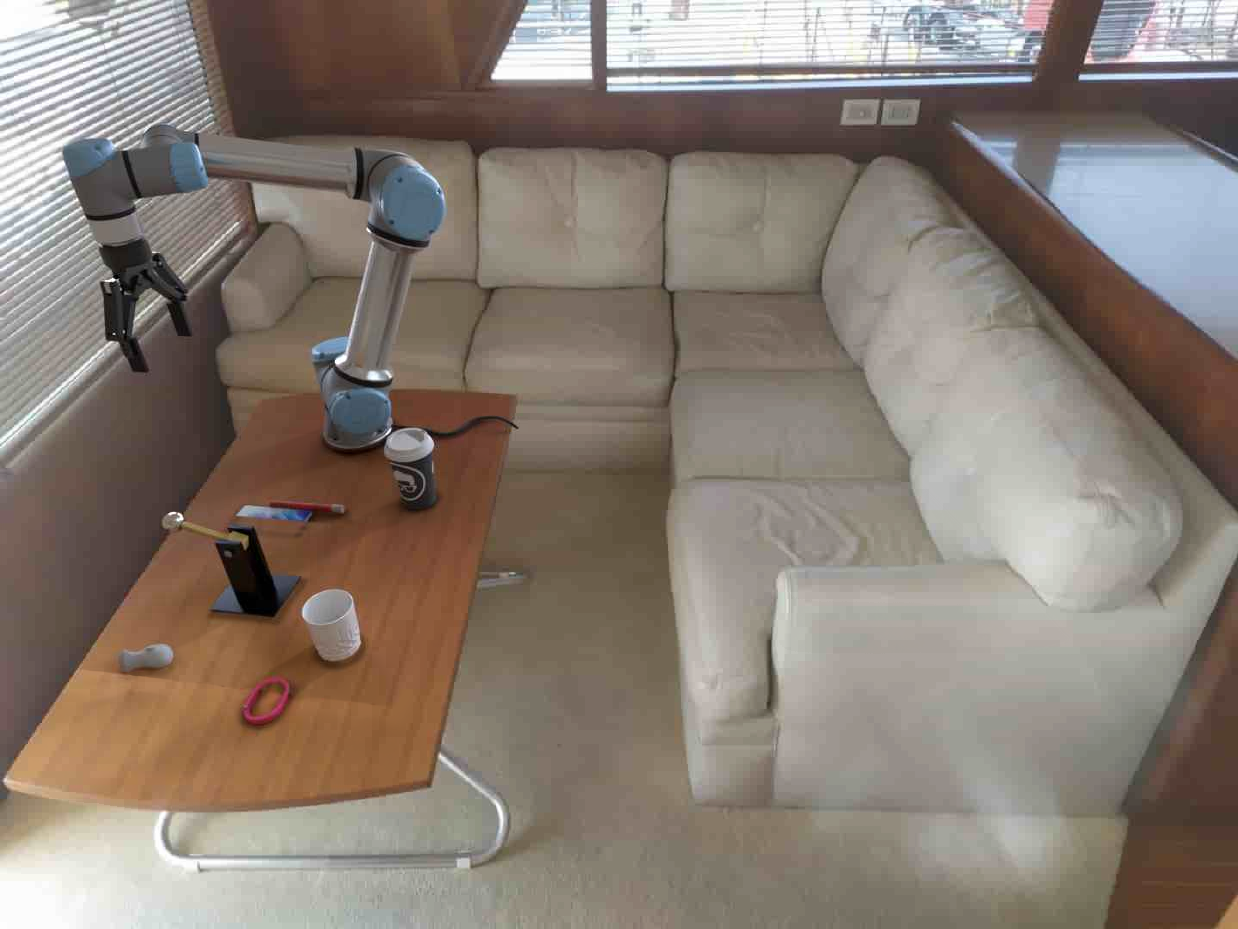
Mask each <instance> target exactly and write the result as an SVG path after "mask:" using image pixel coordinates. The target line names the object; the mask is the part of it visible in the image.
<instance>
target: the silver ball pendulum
mask: <svg viewBox="0 0 1238 929" xmlns="http://www.w3.org/2000/svg"><path fill="white" fill-rule="evenodd" d="M161 525H162V528H163V530H165V531H166V532H167V533H170V534H178V533H180V532H182V531H186V532H188V533H191V534H195V535H198V536H201V537H204V538H208V539H211V540H213V541H216V540H217V539H221V540H232V541H242V544H243V546H244V549H245V550H246V548H247V547H248V546H249V536H247V535H244V534H241V533H238V532H234V531H232V533H231V534H230V533H229V534H226V533H223V532H220V531H217V530H214V529H210V528H207V527H204V526H201V525H198V524H194V523H192V522H189V521H187V519H186V517H185V515H184V514H182V513H181V512H179V511H170V512H168V513H166V514H165V515H164V516H163V518H162V520H161Z"/></svg>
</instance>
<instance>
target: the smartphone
mask: <svg viewBox="0 0 1238 929" xmlns="http://www.w3.org/2000/svg"><path fill="white" fill-rule="evenodd" d="M312 515H313V511H311V510H300V509H286V508H271V507H270V506H265V505H255V504H252V505H251V504H244V505H242V507H241V508H240V509H238V511H237V512H236V513H235V515H234V517H235V516H236V517H246V518H247V517H248V518H257V519H270V520H280V521H294V522H304V523H308V521H309V520H310V518H311V517H312Z"/></svg>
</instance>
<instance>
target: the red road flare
mask: <svg viewBox="0 0 1238 929" xmlns="http://www.w3.org/2000/svg"><path fill="white" fill-rule="evenodd" d="M269 507H271V508H286V509H300V510H311V511H312V512H317V513H318V512H319V513H332V514H344V512H345V505H344V504H335V503H334V504H330V503H315V502H302V501H301V502H300V501H285V500H273V499H272V500H270V501H269Z"/></svg>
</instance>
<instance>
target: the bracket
mask: <svg viewBox="0 0 1238 929" xmlns="http://www.w3.org/2000/svg"><path fill="white" fill-rule="evenodd" d="M226 528H227V531H228V533H229V535H230V534H231V533H232V531H234V532H238V533H241V534H244V535H247V536H249V546H248V547H247V548H246V550H245V549H244V546H243V544H242V541H232V540H221V539H217V540H215V541H214V546H215V548H216V550H217V553H218V556H219V558H220V560H221V561H220V562H221V563H222V566H223V569H224V571H225V573H226V576H227V578H228V581H229V584H228V585H227V587H225V589H224V590H223V592H222V593H221V594H220V596H219V597H218V598H217V600H216V601H215V602H214V604H212V606H211V607H210V608H209V611H211V612H220V613H221V612H222V613H231V614H240V615H250V616H258V617H259V616H260V617H269V618H275V617H276V616H277V615H278V613H279V611H280V610H281V608H282V607H283V605H284V604H285V602H286V601H287V600H288V598H289V597H290V595H291V594H292V592H293V591H294V590H295V588H296V586H297V585H298V583H299V582H300V580H301V579H302V576H300V575H290V574H280V573H271V569H270V567H269V564H268V562H267V559H266V556H265V553H264V550H263V548H262V545H261V542H260V539H259V537H258V534H257V530H256V528H255V525H245V524H244V525H243V524H234V523H229V525H228V526H227V527H226Z"/></svg>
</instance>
